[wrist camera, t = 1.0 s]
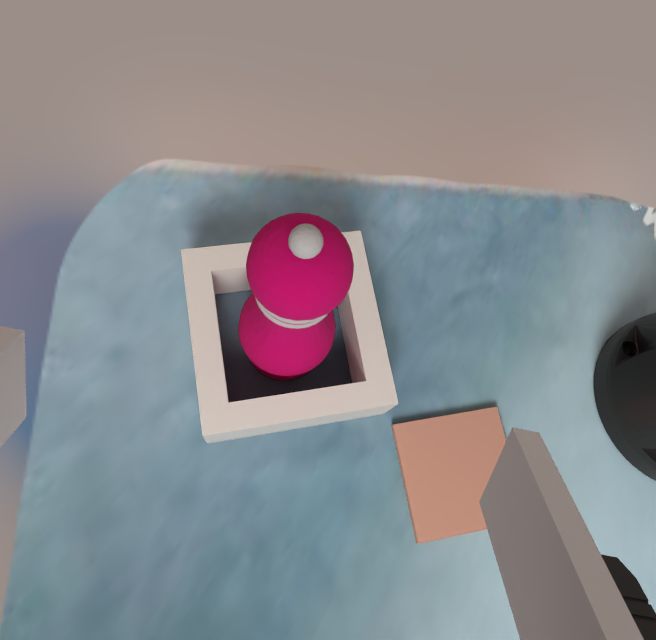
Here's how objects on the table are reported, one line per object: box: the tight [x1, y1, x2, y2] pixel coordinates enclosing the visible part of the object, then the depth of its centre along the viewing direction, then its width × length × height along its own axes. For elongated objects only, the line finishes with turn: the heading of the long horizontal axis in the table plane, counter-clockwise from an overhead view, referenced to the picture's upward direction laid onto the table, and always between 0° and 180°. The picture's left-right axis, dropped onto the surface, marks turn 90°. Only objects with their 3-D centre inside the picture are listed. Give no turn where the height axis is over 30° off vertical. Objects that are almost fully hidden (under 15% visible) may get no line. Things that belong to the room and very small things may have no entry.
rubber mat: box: [392, 407, 506, 544], centre depth 45 cm, size 9×9×1 cm
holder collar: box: [181, 231, 398, 443], centre depth 44 cm, size 14×14×5 cm
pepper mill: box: [239, 213, 354, 380], centre depth 37 cm, size 7×7×20 cm
